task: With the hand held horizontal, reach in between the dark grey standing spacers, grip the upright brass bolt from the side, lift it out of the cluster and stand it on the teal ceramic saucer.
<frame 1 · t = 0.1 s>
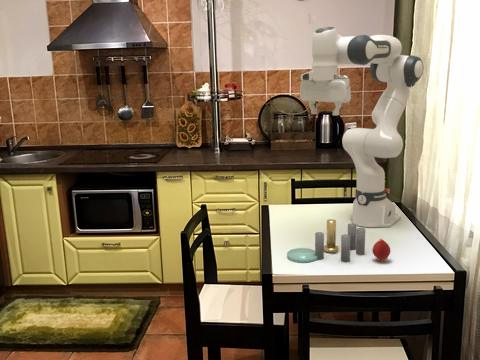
hand: (324, 114, 191), 48 cm above the table, tool pointing down, fingers open, 8 cm apart
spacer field: (340, 253, 190), on the table
bolt: (331, 251, 193), on the table
pomegranate: (381, 261, 183), on the table
saucer: (302, 256, 188), on the table
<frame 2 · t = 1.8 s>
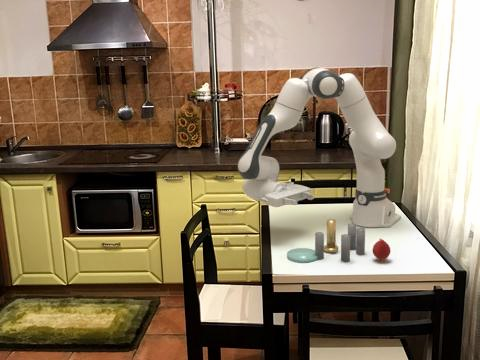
hand: (304, 199, 197), 17 cm above the table, tool horizontal, fingers open, 8 cm apart
nothing on the table moved.
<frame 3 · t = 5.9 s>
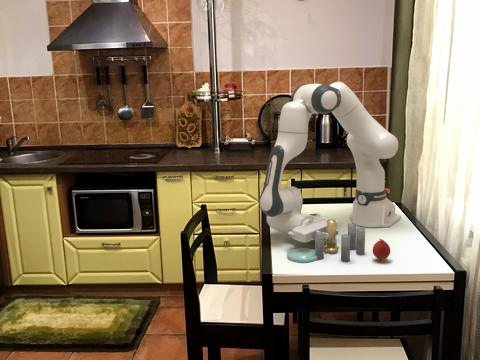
hand: (333, 234, 190), 7 cm above the table, tool horizontal, fingers closed on bolt, 3 cm apart
bolt: (331, 251, 193), on the table, touching gripper
everything else where it was.
when the fingers open (9 cm above the table, at t = 10.0 s): bolt stays where it is, resting on saucer.
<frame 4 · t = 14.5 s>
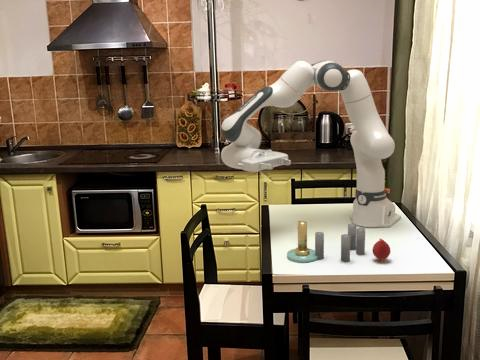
hand: (280, 164, 196), 30 cm above the table, tool horizontal, fingers open, 8 cm apart
bolt: (302, 253, 188), point 1 cm above the table, touching saucer
everything else where it was.
at the end: bolt 0.1 cm from the saucer (horizontally); bolt point 1.2 cm above the table; the gripper is holding nothing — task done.
